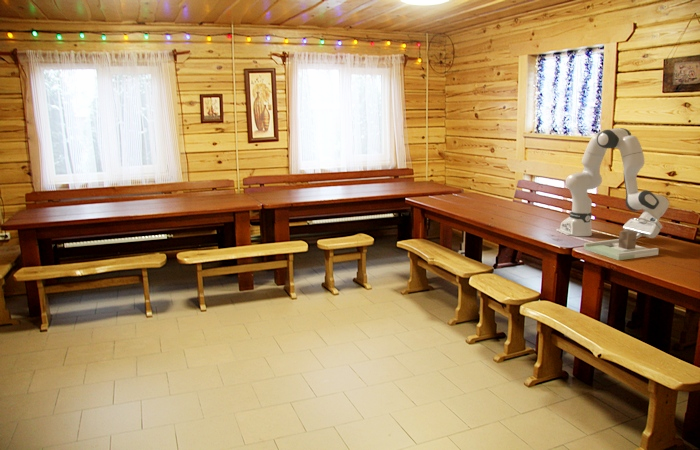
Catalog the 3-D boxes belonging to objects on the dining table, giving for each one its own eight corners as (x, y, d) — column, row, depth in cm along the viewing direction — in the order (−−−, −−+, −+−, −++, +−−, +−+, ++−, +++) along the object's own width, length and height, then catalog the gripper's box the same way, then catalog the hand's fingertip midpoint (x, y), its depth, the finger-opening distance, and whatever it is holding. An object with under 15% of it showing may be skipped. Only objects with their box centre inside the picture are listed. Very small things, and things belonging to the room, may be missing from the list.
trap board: (583, 249, 326) (584, 243, 325) (621, 244, 336) (622, 238, 335) (618, 260, 303) (618, 253, 303) (658, 254, 313) (658, 248, 313)
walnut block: (618, 246, 322) (619, 231, 321) (626, 245, 325) (628, 230, 323) (627, 249, 317) (628, 233, 315) (635, 248, 319) (636, 232, 317)
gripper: (629, 213, 331) (614, 232, 329) (660, 220, 312) (644, 239, 311) (634, 220, 333) (620, 238, 332) (665, 227, 315) (650, 247, 313)
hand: (632, 239), depth 321 cm, fingers closed, pressing on walnut block
